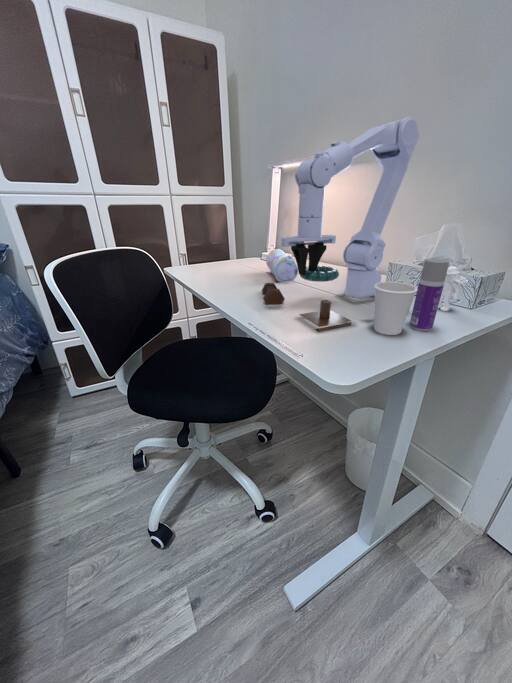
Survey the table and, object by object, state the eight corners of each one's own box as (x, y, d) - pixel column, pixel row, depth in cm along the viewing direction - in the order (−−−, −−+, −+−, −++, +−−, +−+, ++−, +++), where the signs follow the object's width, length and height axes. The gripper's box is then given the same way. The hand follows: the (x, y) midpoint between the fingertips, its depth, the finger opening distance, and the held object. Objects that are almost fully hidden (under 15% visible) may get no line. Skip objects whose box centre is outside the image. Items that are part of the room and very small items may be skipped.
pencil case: (298, 283, 104) (299, 256, 100) (274, 284, 103) (274, 256, 99) (285, 271, 123) (286, 247, 119) (265, 271, 122) (265, 248, 118)
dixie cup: (384, 320, 71) (392, 279, 66) (416, 332, 64) (426, 288, 60) (359, 327, 67) (366, 284, 63) (389, 340, 60) (399, 294, 56)
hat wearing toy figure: (461, 312, 75) (476, 265, 70) (450, 314, 74) (464, 266, 69) (431, 302, 83) (442, 259, 77) (421, 304, 81) (431, 260, 76)
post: (328, 313, 76) (330, 294, 73) (351, 325, 68) (354, 304, 66) (298, 318, 73) (299, 298, 70) (318, 331, 65) (320, 309, 63)
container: (431, 332, 64) (450, 263, 57) (407, 328, 66) (423, 261, 59) (432, 325, 67) (450, 259, 61) (410, 322, 69) (425, 257, 63)
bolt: (270, 298, 94) (276, 312, 80) (257, 291, 93) (261, 304, 79) (279, 282, 92) (287, 294, 78) (266, 275, 91) (271, 285, 77)
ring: (323, 272, 83) (324, 263, 82) (345, 280, 75) (347, 270, 74) (292, 276, 80) (293, 267, 79) (312, 284, 71) (313, 274, 70)
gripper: (326, 215, 75) (321, 268, 81) (275, 217, 70) (275, 273, 76) (343, 216, 69) (337, 273, 75) (289, 218, 64) (287, 279, 70)
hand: (306, 274), depth 75 cm, fingers closed on ring, 2 cm apart
